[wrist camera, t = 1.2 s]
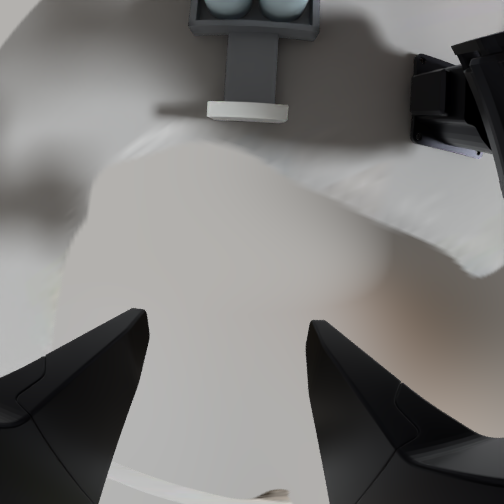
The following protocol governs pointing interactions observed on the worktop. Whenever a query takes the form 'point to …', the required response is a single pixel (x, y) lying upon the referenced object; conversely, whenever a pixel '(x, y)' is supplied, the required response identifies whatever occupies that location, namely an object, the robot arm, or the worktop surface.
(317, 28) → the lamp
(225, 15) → the pale blue cylinder
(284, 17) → the pale blue cylinder
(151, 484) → the worktop surface
